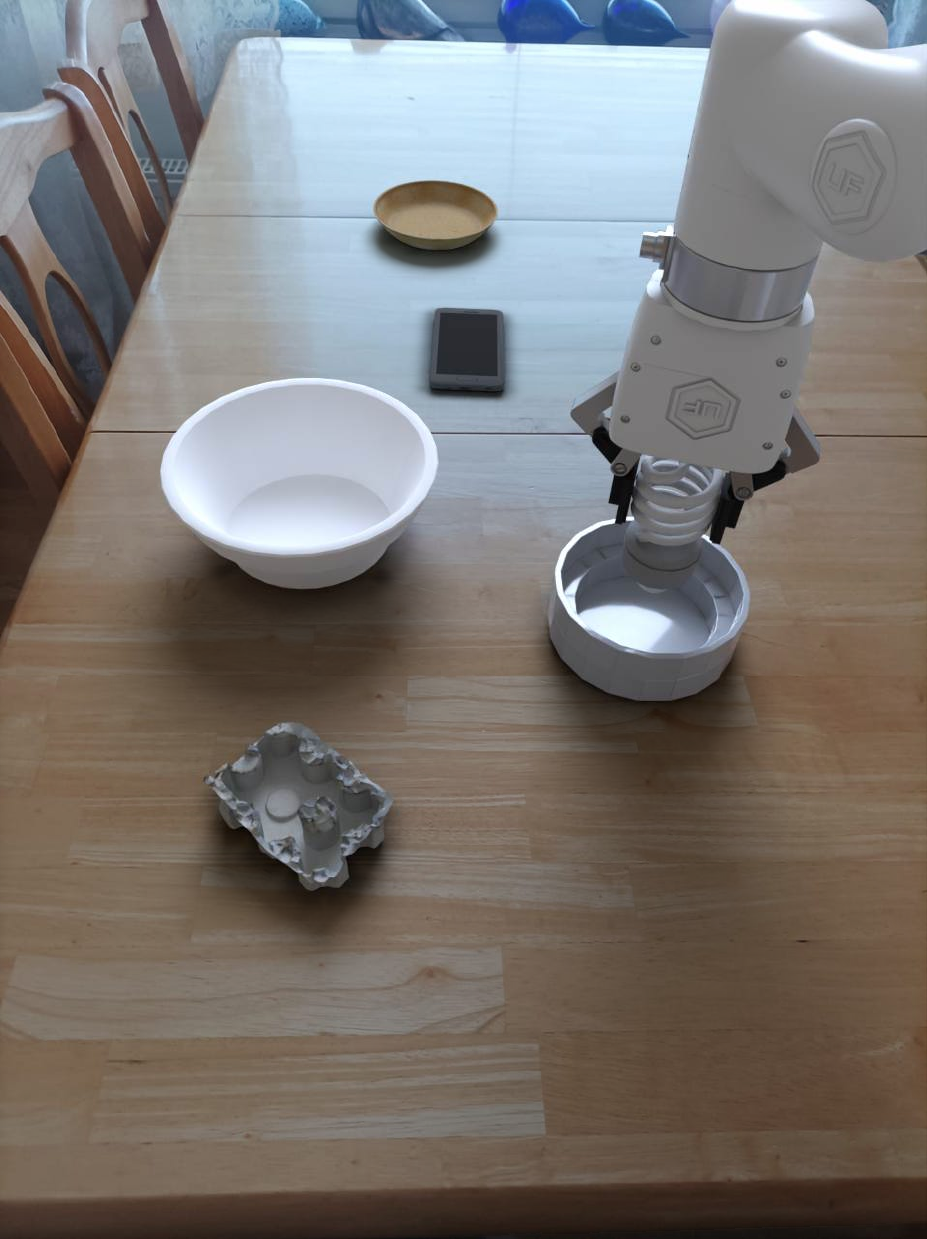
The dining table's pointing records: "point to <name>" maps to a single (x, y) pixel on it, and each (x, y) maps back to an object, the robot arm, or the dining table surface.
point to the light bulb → (669, 522)
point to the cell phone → (468, 349)
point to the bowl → (300, 478)
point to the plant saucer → (435, 213)
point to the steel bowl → (644, 619)
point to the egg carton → (302, 803)
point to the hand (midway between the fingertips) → (669, 518)
